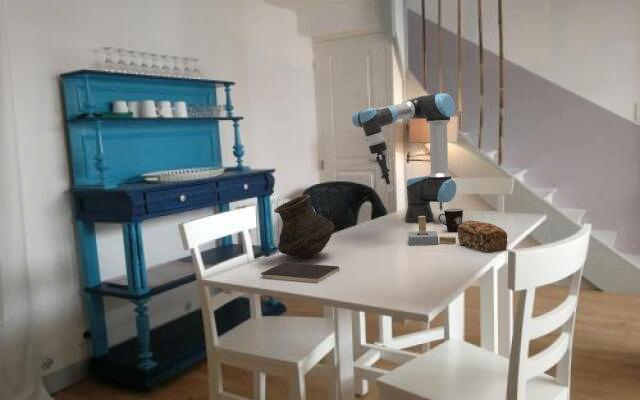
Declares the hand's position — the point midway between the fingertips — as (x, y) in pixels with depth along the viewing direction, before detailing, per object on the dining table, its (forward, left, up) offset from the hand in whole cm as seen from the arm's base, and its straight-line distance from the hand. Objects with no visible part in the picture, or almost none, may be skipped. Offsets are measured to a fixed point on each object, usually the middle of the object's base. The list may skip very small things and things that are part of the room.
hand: (390, 188), depth 233 cm
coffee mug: (-11, +27, -23) cm, 37 cm away
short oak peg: (+15, +23, -23) cm, 36 cm away
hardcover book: (+57, -32, -23) cm, 70 cm away
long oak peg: (+11, +13, -22) cm, 28 cm away
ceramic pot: (+32, -34, -23) cm, 52 cm away
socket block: (+11, +13, -22) cm, 28 cm away
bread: (+24, +35, -23) cm, 49 cm away
